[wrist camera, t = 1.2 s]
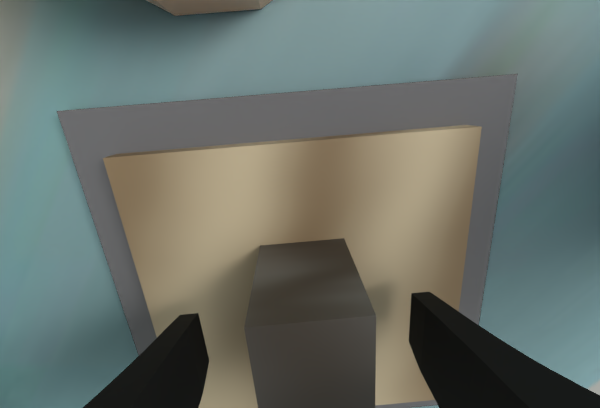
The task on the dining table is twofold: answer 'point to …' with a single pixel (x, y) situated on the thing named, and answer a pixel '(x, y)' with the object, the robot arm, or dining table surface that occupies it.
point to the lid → (302, 257)
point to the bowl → (207, 6)
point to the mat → (284, 126)
